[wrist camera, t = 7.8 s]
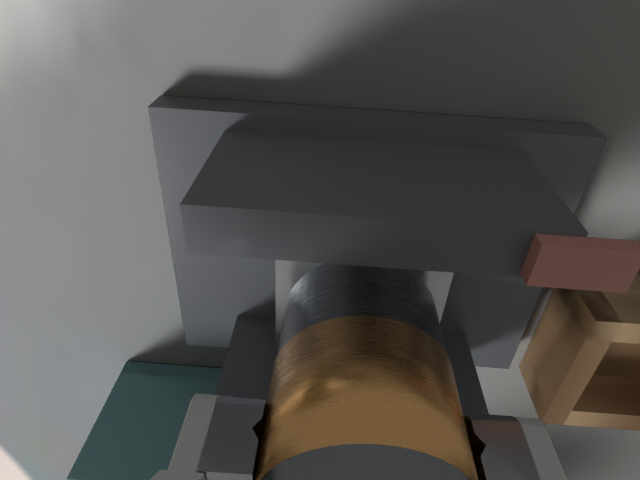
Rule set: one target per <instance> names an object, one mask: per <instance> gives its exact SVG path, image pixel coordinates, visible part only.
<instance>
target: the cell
mask: <svg viewBox="0 0 640 480" xmlns="http://www.w3.org/2000/svg"><path fill="white" fill-rule="evenodd" d="M255 480H479V478H478V474H477V469H476V465H475V461H474V457H473V453H472V448H471V444H470V440H469V436H468V432H467V428H466V423H465V419H464V415H463V411H462V407H461V402H460V398H459V394H458V390H457V386H456V381H455V377H454V373H453V369H452V365H451V362H450V359H449V357H448V355H447V353H446V349H445V345H444V340H443V336H442V332H441V328H440V323H439V319H438V315H437V310H436V306H435V302H434V299H433V296H432V293H431V292H430V290H429V288H428V287H427V285H426V284H425V283H424V282H423V281H422V279H420V278H419V277H418V276H417V275H416V274H415V273H413V272H412V271H410V270H409V269H397V268H383V267H369V266H355V265H341V264H327V263H324V264H322V265H320V266H318V267H316V268H314V269H312V270H311V271H309V272H308V273H306V274H305V275H304V276H303V277H301V279H300V280H299V281H298V282H297V283H296V284H295V285H294V287H293V288H292V290H291V291H290V294H289V296H288V298H287V302H286V306H285V312H284V318H283V324H282V330H281V336H280V343H279V349H278V355H277V357H276V359H275V363H274V366H273V372H272V378H271V384H270V390H269V395H268V401H267V409H266V415H265V422H264V428H263V433H262V437H261V443H260V449H259V458H258V464H257V469H256V475H255Z"/></svg>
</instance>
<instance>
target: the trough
mask: <svg viewBox="0 0 640 480" xmlns="http://www.w3.org/2000/svg"><path fill="white" fill-rule="evenodd" d="M519 368H520V371H521V373H522V376H523V378H524V381H525V383H526V386H527V389H528V391H529V394H530V396H531V399H532V401H533V404H534V406H535V409H536V412H537V414H538V417H539V419H540V420H541V421H542V422H543V423H547V424H560V425H574V426H587V427H600V428H614V429H627V430H640V274H636V276H635V278H634V280H633V282H632V283H631V285H630V287H629V289H628V291H627V292H626V293H619V292H605V291H591V290H577V289H563V288H554V290H553V292H552V295H551V297H550V299H549V301H548V304H547V306H546V308H545V310H544V313H543V315H542V317H541V319H540V322H539V324H538V326H537V328H536V331H535V333H534V335H533V338H532V340H531V342H530V344H529V347H528V349H527V351H526V353H525V356H524V358H523V360H522V362H521V365H520V367H519Z"/></svg>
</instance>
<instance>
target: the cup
mask: <svg viewBox="0 0 640 480" xmlns="http://www.w3.org/2000/svg"><path fill="white" fill-rule="evenodd" d="M221 371H222V368H210V367H197V366H183V365H170V364H156V363H143V362H130V361H127V362H126V363H125V365H124V367H123V369H122V371H121V373H120V375H119V377H118V379H117V381H116V383H115V385H114V387H113V389H112V391H111V393H110V395H109V397H108V399H107V401H106V403H105V405H104V407H103V409H102V411H101V413H100V414H99V416H98V418H97V420H96V422H95V424H94V426H93V428H92V430H91V432H90V434H89V436H88V438H87V440H86V442H85V444H84V446H83V448H82V450H81V452H80V454H79V456H78V458H77V460H76V462H75V463H74V465H73V467H72V469H71V471H70V473H69V475H68V477H67V480H150V479H151V478H152V477H153V476H154V475H155V474H156V473H157V472H158V471H159V470H168V467H169V464H170V461H171V458H172V455H173V452H174V449H175V446H176V443H177V440H178V437H179V434H180V431H181V428H182V425H183V422H184V419H185V416H186V413H187V410H188V407H189V404H190V401H191V400H192V398H193V396H194V395H195V393H197V394H211V395H215V392H216V389H217V385H218V382H219V378H220V375H221Z"/></svg>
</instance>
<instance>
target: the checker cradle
mask: <svg viewBox="0 0 640 480" xmlns="http://www.w3.org/2000/svg"><path fill="white" fill-rule="evenodd" d="M148 110H149V116H150V123H151V129H152V135H153V141H154V147H155V154H156V160H157V166H158V172H159V178H160V184H161V191H162V197H163V203H164V209H165V215H166V222H167V228H168V234H169V240H170V246H171V253H172V259H173V265H174V271H175V277H176V284H177V290H178V296H179V302H180V308H181V314H182V321H183V327H184V333H185V339H186V345H195V346H208V347H222V348H228V350H227V354H226V357H225V361H224V364H223V368H222V371H221V375H220V378H219V382H218V385H217V389H216V392H215V395H221V396H232V397H243V398H255V399H266V400H267V401H268V395H269V390H270V384H271V378H272V372H273V366H274V363H275V359H276V357H277V355H278V352H276V283H275V260H285V261H299V262H313V263H327V264H341V265H355V266H369V267H383V268H397V269H411V270H425V271H438V272H452V273H454V274H453V278H452V281H451V285H450V289H449V292H448V296H447V300H446V303H445V307H444V311H443V314H442V318H441V321H440V328H441V332H442V336H443V340H444V345H445V349H446V353H447V355H448V357H449V359H450V362H451V365H452V369H453V373H454V377H455V381H456V386H457V390H458V394H459V398H460V402H461V407H462V411H463V415H465V414H482V415H489V413H488V410H487V407H486V403H485V400H484V396H483V393H482V389H481V386H480V382H479V379H478V375H477V372H476V369H475V366H479V367H492V368H506V369H509V366H510V364H511V362H512V359H513V357H514V355H515V352H516V350H517V347H518V345H519V343H520V340H521V338H522V336H523V333H524V331H525V329H526V326H527V324H528V322H529V319H530V317H531V314H532V312H533V310H534V307H535V305H536V303H537V300H538V298H539V296H540V293H541V291H542V289H543V287H549V288H563V289H577V290H591V291H605V292H619V293H626V292H627V291H628V289H629V287H630V285H631V283H632V282H633V280H634V278H635V276H636V274H637V273H638V271H639V269H640V243H639V242H638V241H634V240H620V239H606V238H591V237H587V235H588V232H587V231H586V229H585V228H584V227H583V226H582V224H581V223H580V222H579V220H578V219H577V218H576V217H575V215H574V213H575V211H576V208H577V206H578V204H579V201H580V199H581V197H582V194H583V192H584V189H585V187H586V185H587V182H588V180H589V178H590V175H591V173H592V171H593V168H594V166H595V164H596V161H597V159H598V156H599V154H600V152H601V149H602V147H603V145H604V142H605V140H606V137H605V136H604V135H602V134H601V133H600V132H599V131H597V130H596V129H595V128H594V127H592V126H591V125H590V124H579V123H564V122H549V121H534V120H519V119H504V118H489V117H475V116H460V115H445V114H430V113H415V112H400V111H385V110H371V109H356V108H341V107H326V106H311V105H296V104H281V103H266V102H252V101H237V100H222V99H207V98H192V97H177V96H162V95H161V96H160V97H158V98H157V99H156V100H155V101H154V102H153V103H152V104H151V105H149V106H148Z"/></svg>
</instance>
